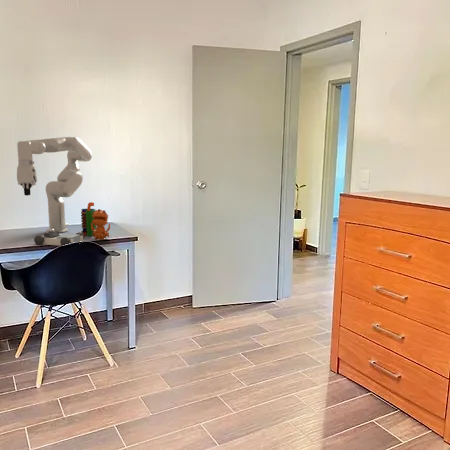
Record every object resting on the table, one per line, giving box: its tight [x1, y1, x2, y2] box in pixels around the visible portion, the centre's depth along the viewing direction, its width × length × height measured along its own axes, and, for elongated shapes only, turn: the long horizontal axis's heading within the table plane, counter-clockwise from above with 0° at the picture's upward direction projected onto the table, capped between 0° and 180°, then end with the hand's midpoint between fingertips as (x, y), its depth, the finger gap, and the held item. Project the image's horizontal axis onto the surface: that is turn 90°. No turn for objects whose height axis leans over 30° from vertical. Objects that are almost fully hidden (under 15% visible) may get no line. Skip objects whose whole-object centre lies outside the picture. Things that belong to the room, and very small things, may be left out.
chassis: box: [33, 231, 85, 247], centre depth 250 cm, size 16×22×5 cm
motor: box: [80, 201, 97, 237], centre depth 272 cm, size 10×9×20 cm
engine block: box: [43, 228, 60, 238], centre depth 251 cm, size 7×5×6 cm
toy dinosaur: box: [91, 209, 111, 240], centre depth 262 cm, size 11×11×18 cm
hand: (27, 195), depth 257 cm, fingers closed
